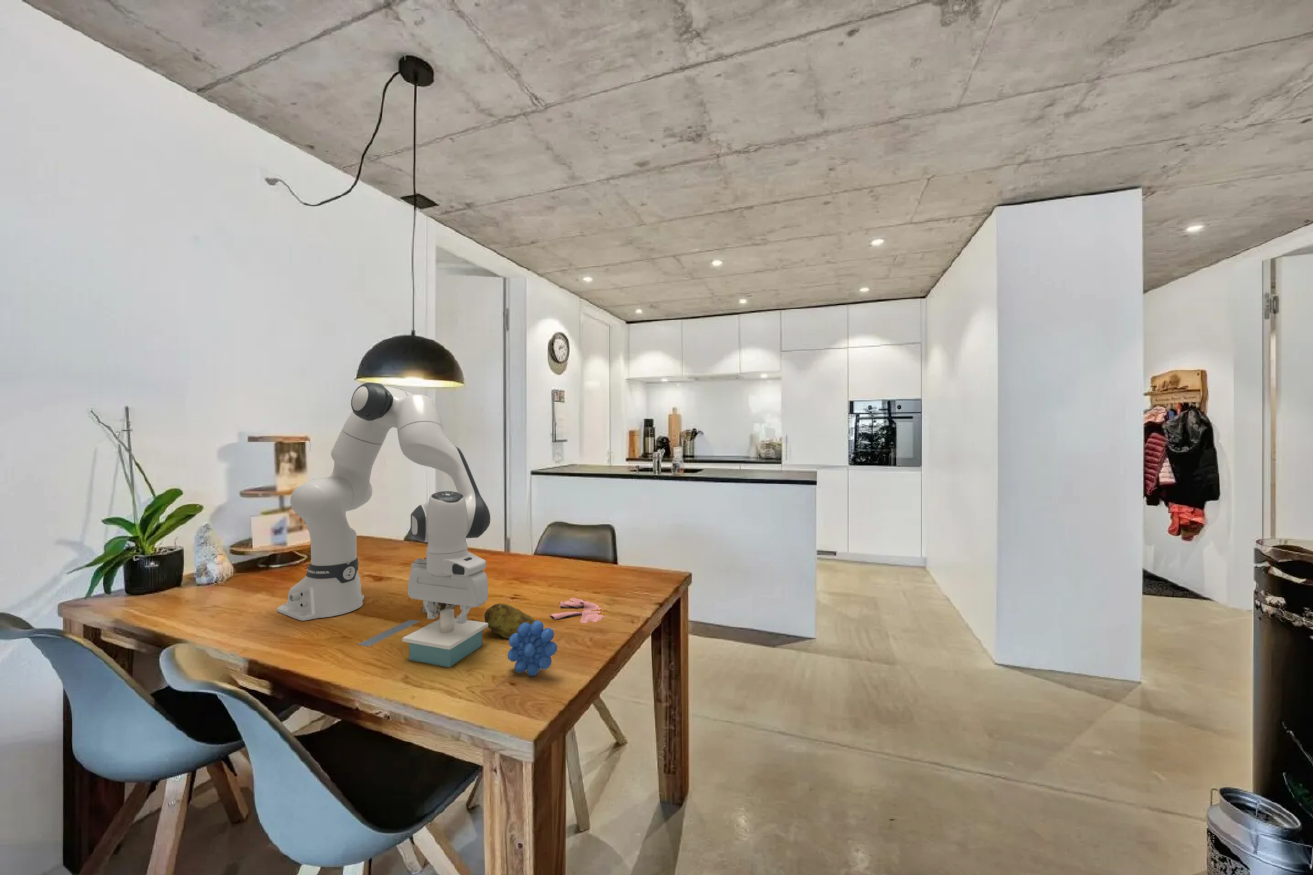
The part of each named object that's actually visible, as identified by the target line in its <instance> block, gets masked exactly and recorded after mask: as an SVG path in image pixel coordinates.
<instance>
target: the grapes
mask: <svg viewBox="0 0 1313 875" xmlns="http://www.w3.org/2000/svg"><path fill="white" fill-rule="evenodd" d="M544 627H545V626H544V622H543V621H541V620H539V619H538V620H535V621H534V622H533V623H532V624H531V626H530V624H528V623H522V624H521V625H520V626H519V627H518V630H517V631H518V633H514V634H512V635H511V637H510V638H509V639H508V644H509V647H510V649H509V650H508V652H507V660H509V661H510V662H515V663H514V670H515V672H517V673H518V674H522V673H524V672H526V674H527V675H528V676H530V677H534V676H536V675H538V674H539V672H540V669H541V670H543V671H544V670H547V669H549V668H550V667H551V665H552V663H553V662H552V657H553V656H554V655H555V654H556V653H557V651H558V645H557V643H556V642H555V641H552V640H553V639H554V636H555V633H554V630H553V629H552V628H551V627H546V628H544Z"/></svg>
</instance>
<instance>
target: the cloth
mask: <svg viewBox="0 0 1313 875" xmlns="http://www.w3.org/2000/svg"><path fill="white" fill-rule="evenodd" d="M570 600H571V601H570ZM572 601H573V602H572ZM599 607H600V606H599V605H598V604H596V603H594V602H591V601H587V600H584V599H580V598H576V597H571V598H570V599H569V600H565V601H562V600H560V601H559V608H560V609H562V608H564V609H576V608H577V609H583V610H584V611H583V610H582V611H565V612H560V613H559V612H558V613H557V612H556V613H552V614H550V615H549V617H552V619H554V621H557V620H560V619H566V618H574V617H575V618H576V617H581V618H580V620H579V622H580V623H581V624H588V623H590V622H589V621H593V622H597V621H598V622H599V621H601V620H602V618H603V619H604V618H605V617H604V616H603V615H598V614H597V613H600V611H591V610H597V609H598V610H600V609H601V608H602V607H600V608H599ZM581 615H582V616H581ZM587 622H588V623H587ZM593 622H592V623H593ZM598 622H597V623H598Z"/></svg>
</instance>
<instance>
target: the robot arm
mask: <svg viewBox="0 0 1313 875" xmlns="http://www.w3.org/2000/svg"><path fill="white" fill-rule="evenodd" d="M350 405H351V410H352V412H351V413H350V414H349V416H348V417H347V419H346V421H345V422H344V424H343V427H342V428H341V431H340V433H339V435H338V437H337V439H336V441H335V442H334V445H333V448H332V449H331V450H330V452H331V453H330V456H331V459H332V460H333V469H332V472H331V474H330V476H328V477H323V478H315V479H312V480H309V481H306V482H304V483H302V484H300V485H298V486H296V487H295V488H294V490H293V491H292V493H291V495H290V499H289V500H290V503H289V504H290V507H291V509H292V510H293V512H294V513H295V514H296V515H297V516H299V517H300V518H301V519H302V520H303V521H304V523H305V525H306V527H307V530H308V533H309V539H310V563H308V564H305V565H303V566H305V567H304V568H303V569H304V570H306V569H307V570H306V573H305V576H304V577H303V578H302V579H301V580H300V581H299V582H297V583H296V584H295V585H293V586H291V588H290V589H289V591H288V594H287V602H286V603H284V604H281V605H280V606H278V607H277V609H276V611H277V612H278V613H279V614H282V615H285V616H288V617H290V618H293V619H295V620H299V621H301V622H302V621H304V622H305V621H309V620H313V619H320V618H330V617H335V616H340V615H344V614H347V613H350V612H353V611H355V610H358V609H359V608H361V607H362V606H363V604H364V602H363V601H364V599H365V595H364V594H362V585H361V576H360V574H359V572H358V571H359V564H360V562H359V558H358V557H357V554H358V553H357V552H358V551H357V548H358V547H357V532H356V530H355V529H354V528H352V527H351V526H350V524H349V522H348V519H347V515H346V512H349V511H353V510H356V509H358V508H360V507H362V506H363V505H365V504H366V503H368V502H369V501H370V499H371V497H372V494H373V487H372V484H371V481H370V480H371V475H372V469H373V466H374V465H375V462H376V459H377V457H378V455H379V453H380V450H381V448H382V446H383V444H384V442H385V440H386V437H387V435H388V432H389V431H390V430H391V429H392V428H396V431H397V437H398V438H397V439H398V444H399V447H400V450H401V452H402V454H403V455H404V456H405V458H407V459H408V460H409V461H411V462H413V463H415V464H417V465H420V466H424V467H428V468H431V469H436V470H438V471H441V472H443V473H445V474H447V475H448V476H449V477H450V478H451V479H452V481H453V484H454V486H455V489H456V490H457V491H453V490H450V491H449V490H443V491H437V492H434V493H432V494H430V496H429V498H428V502H425V503H423V504H419V505H418V506H417V507H416V508H415V509H414V510H413V511H412V512H411V513H410V535H411V536H412V537H413V538H414V539H416V540H417V541H419V542H421V543H427V547H426V554H425V558H426V559H425V560H424V558H423V559H422V558H416V559H415V560H413V561H412V563H411V564H410V574H409V577H408V586H407V594H408V596H409V598H410V599H413V600H418V601H419V600H420V601H422V606H423V605H424V607H425V609H426V611H427V613H426V615H427V617H426V618H427V619H428V620H435V619H437V618H438V616H439V613H438V610H436V609H435V607H434V604H433V602H440V603H447V604H454V605H457V606H460V607H459V609H460V610H461V612H460V613H459V614H457V615H456V617H455V618H456V619H457V621H456V622H457V623H459V624H464V623H465V622H466V621H467V620H468V613H469V612H470V610H471V608H477V607H480V606H482V605H484V604H485V603H486V602H487V600H488V597H489V585H488V581H489V580H488V576H487V573H486V572H485V571H484V570H485V569H486V568H487V561H486V560H485V559H484V558H481V557H480V556H477V555H476V554H474V553H472V552H470V551H468V546H469V545H468V542H467V539H477V538H480V537H481V536H482V535H483V534H484V533H485V532H486V531H487V530H488V528H489V527H490V524H491V512H490V509H489V506H488V505H487V503H486V502H485V500H484V499H483V497H482V495H481V494H480V493H481V492H480V491H479V489H478V486H477V483H476V481H475V479H474V476H473V474H472V472H471V469H470V467H469V464H468V462H467V459H466V457H465V456H464V453H463V452H462V450H461V449H460V448H459V447H457V446H455V445H454V443H452V442H451V441H450V440H449V439H448V437H447V435H446V434H445V431H444V426H443V423H442V422H443V421H442V419H441V415H440V413H439V410H438V408H437V406H436V404H435V402H434V400H433V399H432V398H431V397H429V396H428V395H424V394H420V393H416V394H415V393H411V392H409V391H407V390H404V389H398V388H396V387H392V386H386V385H383V384H381V383H377V382H364V383H362V384H360V385H359V386H357V388H356V389H355V390H354V392H353V393H352V397H351V400H350Z"/></svg>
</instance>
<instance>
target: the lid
mask: <svg viewBox="0 0 1313 875" xmlns="http://www.w3.org/2000/svg"><path fill="white" fill-rule="evenodd" d="M456 621H457V619H456V617H455V609H454V608H452V609H444V610H442V611H440V613H439V619H437V620H435V621H433V622H431V623H429V624H427V625H425V626H423V627H421V628H419V629H417V630H415V631H413V632H411V633H409V634H407V635H406V636H403V637H402V638H401V639H402V640H401V642H404V643H414V644H420V645H425V646H431V647H437V648H442V649H448V650H450V649H452V648H453V647H455V646H457V645H458V644H460V643H462V642H463V641H465V640H467V639H468V638H470V637H472V636H473V635H475V634H476V633H478V632H480V631H481V630H482V631H483V630H485V629H487V628H489V627H488V623H485V621H484V622H482V621H477V620H471V619H467V621H466V622H465V623H464V624H459V623H457V622H456Z"/></svg>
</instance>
